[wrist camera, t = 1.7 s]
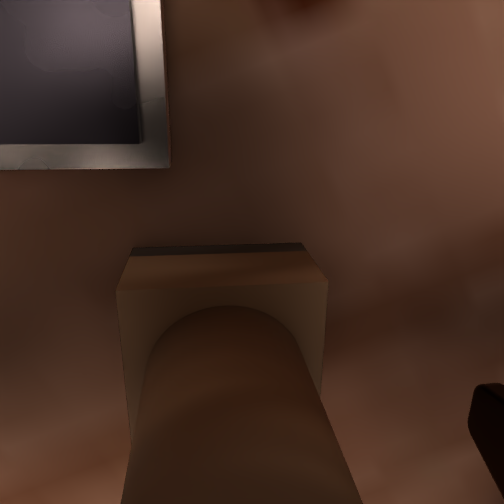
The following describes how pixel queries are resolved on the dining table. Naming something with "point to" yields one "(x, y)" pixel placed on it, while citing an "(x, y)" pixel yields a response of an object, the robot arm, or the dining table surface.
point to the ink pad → (83, 85)
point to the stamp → (227, 377)
